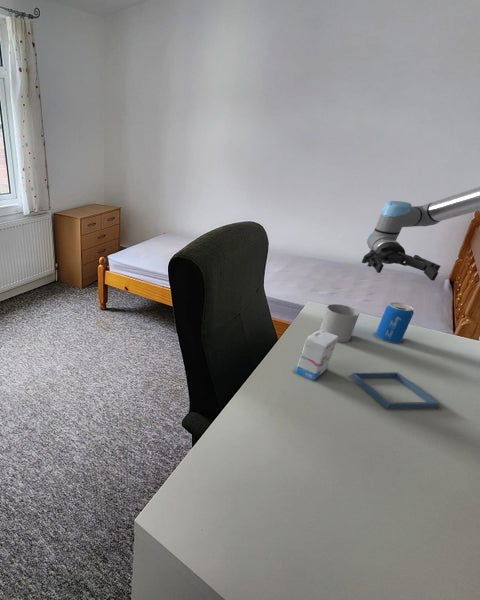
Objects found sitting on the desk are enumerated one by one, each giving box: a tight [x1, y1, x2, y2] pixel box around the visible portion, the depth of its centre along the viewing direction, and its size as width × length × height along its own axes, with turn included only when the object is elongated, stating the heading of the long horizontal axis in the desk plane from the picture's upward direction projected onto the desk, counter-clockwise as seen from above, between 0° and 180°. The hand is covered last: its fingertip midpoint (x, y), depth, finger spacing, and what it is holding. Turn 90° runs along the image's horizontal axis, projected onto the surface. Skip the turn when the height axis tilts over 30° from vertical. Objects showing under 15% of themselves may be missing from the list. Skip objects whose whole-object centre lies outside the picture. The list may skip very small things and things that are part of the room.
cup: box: [319, 303, 360, 343], centre depth 110 cm, size 8×8×10 cm
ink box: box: [294, 329, 338, 381], centre depth 93 cm, size 9×5×12 cm, turn 126°
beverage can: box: [375, 302, 415, 344], centre depth 108 cm, size 6×6×12 cm
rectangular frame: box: [350, 371, 441, 410], centre depth 87 cm, size 12×12×2 cm
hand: (407, 272), depth 108 cm, fingers open, 13 cm apart
